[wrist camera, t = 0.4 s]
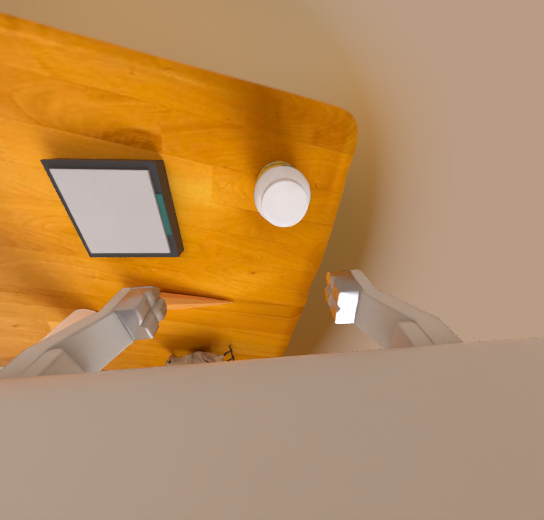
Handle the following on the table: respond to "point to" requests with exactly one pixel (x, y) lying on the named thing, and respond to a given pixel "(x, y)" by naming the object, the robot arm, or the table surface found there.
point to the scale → (118, 205)
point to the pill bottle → (281, 194)
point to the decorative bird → (197, 358)
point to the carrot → (188, 301)
